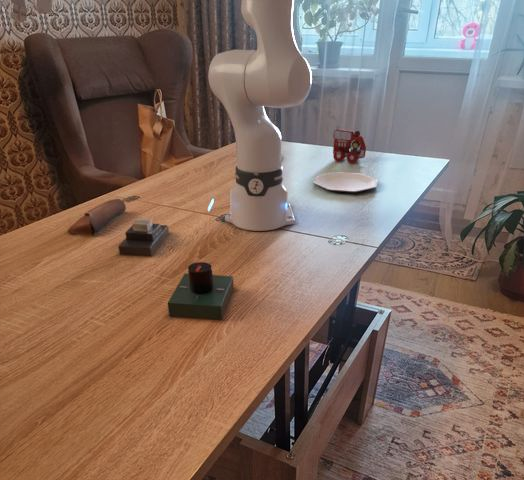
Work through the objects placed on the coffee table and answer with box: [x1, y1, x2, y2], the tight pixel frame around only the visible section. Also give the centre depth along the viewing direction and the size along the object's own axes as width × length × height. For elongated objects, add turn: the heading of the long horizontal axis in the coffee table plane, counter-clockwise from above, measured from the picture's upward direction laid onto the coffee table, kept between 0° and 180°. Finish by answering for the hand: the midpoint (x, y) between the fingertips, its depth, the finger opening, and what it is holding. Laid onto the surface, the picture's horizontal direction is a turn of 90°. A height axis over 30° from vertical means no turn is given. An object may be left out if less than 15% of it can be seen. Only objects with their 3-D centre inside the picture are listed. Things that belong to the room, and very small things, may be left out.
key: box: [131, 217, 154, 232], centre depth 114 cm, size 4×4×2 cm
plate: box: [313, 171, 379, 194], centre depth 154 cm, size 20×20×2 cm
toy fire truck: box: [332, 129, 367, 164], centre depth 176 cm, size 7×12×10 cm, turn 66°
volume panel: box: [167, 273, 235, 321], centre depth 93 cm, size 12×10×3 cm
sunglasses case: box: [67, 198, 127, 237], centre depth 127 cm, size 18×7×7 cm
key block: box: [117, 223, 170, 258], centre depth 116 cm, size 14×8×4 cm, turn 172°
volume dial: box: [187, 261, 213, 294], centre depth 91 cm, size 4×4×5 cm
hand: (29, 16), depth 63 cm, fingers open, 8 cm apart
